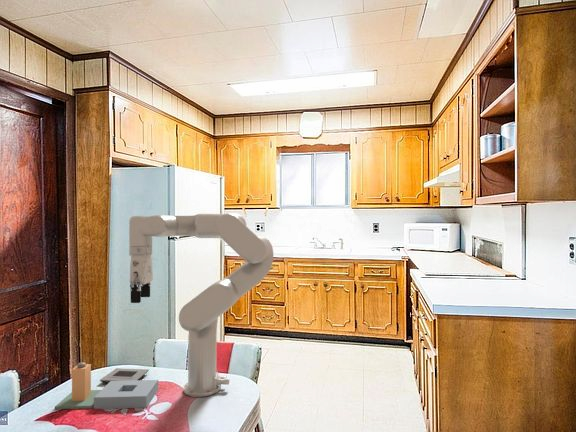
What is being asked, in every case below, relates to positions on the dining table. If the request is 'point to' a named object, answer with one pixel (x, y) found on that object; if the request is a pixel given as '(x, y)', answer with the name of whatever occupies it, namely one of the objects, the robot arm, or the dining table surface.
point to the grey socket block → (126, 394)
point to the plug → (81, 382)
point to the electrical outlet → (124, 375)
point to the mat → (77, 402)
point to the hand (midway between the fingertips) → (140, 299)
